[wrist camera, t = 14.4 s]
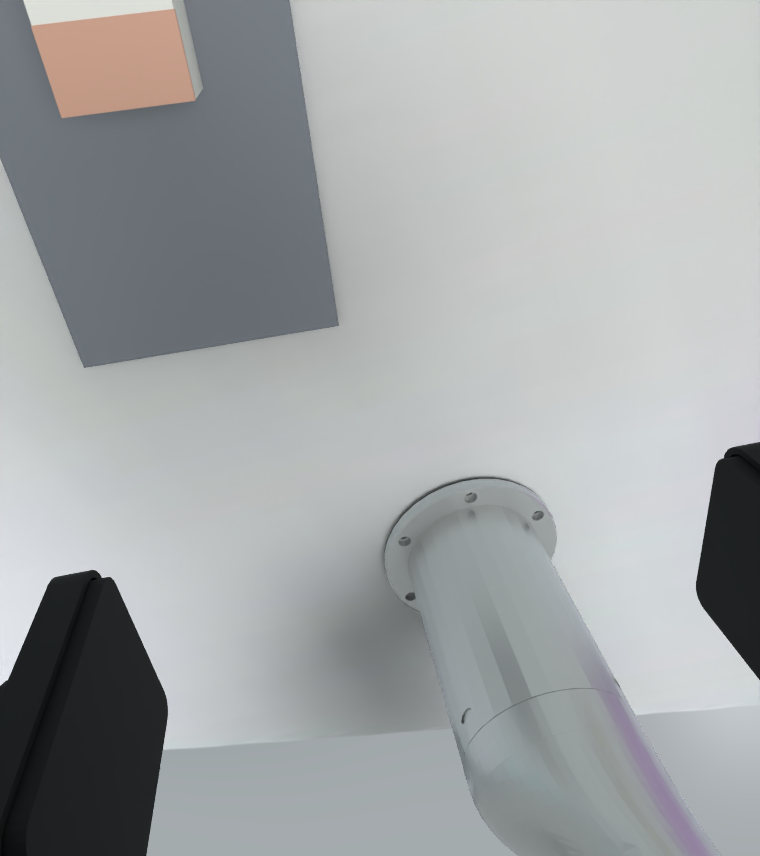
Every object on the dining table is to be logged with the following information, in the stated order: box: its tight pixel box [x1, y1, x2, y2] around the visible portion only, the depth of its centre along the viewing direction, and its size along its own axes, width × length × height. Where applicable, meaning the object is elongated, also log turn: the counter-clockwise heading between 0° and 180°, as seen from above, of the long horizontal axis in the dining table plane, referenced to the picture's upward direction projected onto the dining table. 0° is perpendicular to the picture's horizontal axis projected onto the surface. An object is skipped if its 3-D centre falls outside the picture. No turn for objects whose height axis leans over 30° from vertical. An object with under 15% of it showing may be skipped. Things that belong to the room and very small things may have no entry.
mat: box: [0, 0, 339, 368], centre depth 30 cm, size 24×14×1 cm, turn 6°
